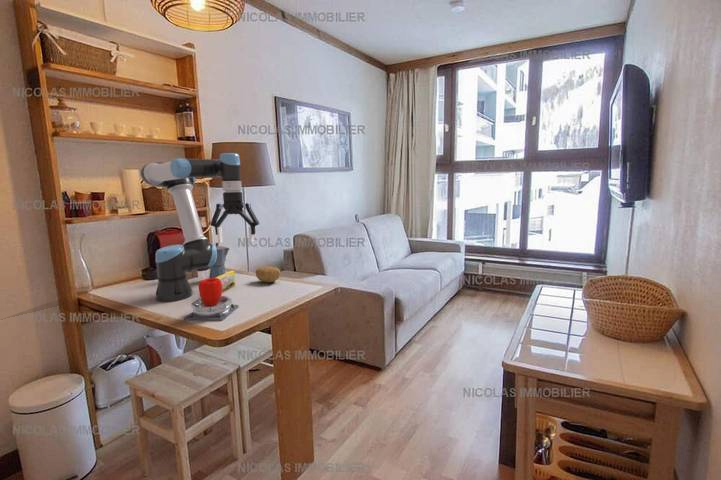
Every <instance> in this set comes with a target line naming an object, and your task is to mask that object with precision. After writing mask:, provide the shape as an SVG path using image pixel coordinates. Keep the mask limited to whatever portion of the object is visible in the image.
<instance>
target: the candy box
mask: <svg viewBox="0 0 721 480" xmlns="http://www.w3.org/2000/svg"><path fill="white" fill-rule="evenodd" d="M235 277H236V276H235V271H234V270H230V271H228V272H226V273H225V274H223V275H221V276H218V277H216V278H218V279H220V280H221V282H222V294H223V293H225V292H227V291H229V290H231V289H233V288H235V287H236V278H235Z"/></svg>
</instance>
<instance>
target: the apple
mask: <svg viewBox="0 0 721 480" xmlns="http://www.w3.org/2000/svg"><path fill="white" fill-rule="evenodd" d="M198 292H199V296H200V299H202V301H203V303H204V305H206V306H213V305H215V304H217V303H218V302H219V300H220V298H221V296H223V293H222V282H221V280H220V279H218V278H209V277H208V278H205V279H202V280H200V281H199V282H198Z"/></svg>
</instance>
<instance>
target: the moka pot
mask: <svg viewBox="0 0 721 480" xmlns="http://www.w3.org/2000/svg"><path fill="white" fill-rule="evenodd" d="M219 244H220V243H218V242H216V243H215V244H214V245H215V247H216V249H217V259H216V262H215V264H214V265H213V266H211V267H209V277H208V278H216V277H218V276H221V275H223V274H225V273H227V272H226V265H225V262H226V257H227V255H228V252H229V250H230V247H227V246H222V245H221V246H220V245H219Z"/></svg>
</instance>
